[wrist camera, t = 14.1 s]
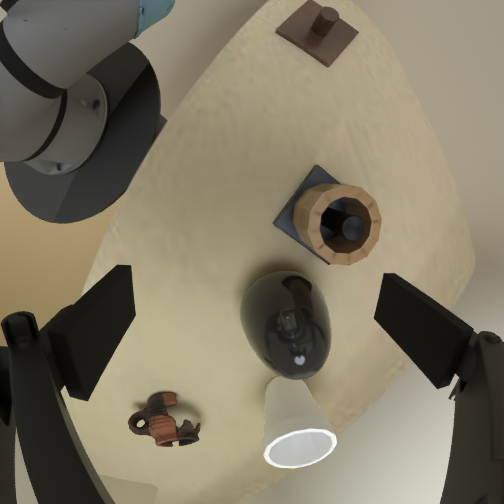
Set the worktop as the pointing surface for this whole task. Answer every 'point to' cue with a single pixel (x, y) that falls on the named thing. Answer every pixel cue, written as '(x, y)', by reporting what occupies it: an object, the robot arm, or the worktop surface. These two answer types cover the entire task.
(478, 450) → the robot arm
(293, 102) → the worktop surface
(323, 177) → the square base peg
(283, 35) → the low peg stand
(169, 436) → the pottery mug
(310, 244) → the maple ring
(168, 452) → the worktop surface
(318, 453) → the foam cup
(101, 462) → the worktop surface
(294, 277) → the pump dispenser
